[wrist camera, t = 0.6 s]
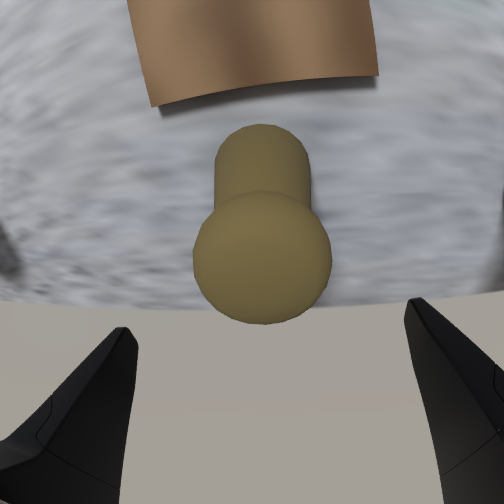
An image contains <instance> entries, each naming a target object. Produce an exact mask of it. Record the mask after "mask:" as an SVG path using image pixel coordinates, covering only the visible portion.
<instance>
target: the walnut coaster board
mask: <svg viewBox="0 0 504 504" xmlns="http://www.w3.org/2000/svg"><path fill="white" fill-rule="evenodd" d="M127 4H128V9H129V14H130V18H131V23H132V28H133V32H134V37H135V41H136V46H137V50H138V54H139V59H140V63H141V67H142V71H143V75H144V79H145V83H146V87H147V91H148V95H149V99H150V103H151V107H156V106H159V105H163V104H167V103H171V102H175V101H179V100H183V99H187V98H191V97H196V96H200V95H205V94H210V93H214V92H220V91H225V90H230V89H236V88H241V87H248V86H254V85H261V84H268V83H275V82H283V81H292V80H302V79H313V78H327V77H346V76H379V72H378V62H377V53H376V44H375V36H374V29H373V22H372V16H371V10H370V4H369V0H127Z"/></svg>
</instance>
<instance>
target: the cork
mask: <svg viewBox="0 0 504 504" xmlns="http://www.w3.org/2000/svg"><path fill="white" fill-rule="evenodd" d="M193 267H194V277H195V279H196V281H197V284H198V286H199V288H200V290H201V292H202V294H203V295H204V297H205V298H206V299H207V300H208V301H209V302H210V303H211V304H212V306H213V307H214V308H215V309H216V310H217V311H219V312H221V313H223V314H224V315H226V316H228V317H230V318H231V319H235V320H238V321H241V322H245V323H248V324H264V325H267V324H273V323H280V322H285V321H287V320H290V319H292V318H295V317H297V316H299V315H301V314H302V313H304V312H305V311H306V310H308V309H309V308H311V307H312V306H313V304H314V303H315V302H316V301H317V299H318V298H319V297H320V295H321V294H322V292H323V291H324V289H325V288H326V287H327V283H328V280H329V276H330V273H331V268H332V254H331V245H330V241H329V238H328V235H327V233H326V231H325V229H324V228H323V226H322V224H321V222H320V220H319V219H318V217H317V216H316V215H315V214H314V213H313V212H312V211H311V181H310V164H309V159H308V154H307V152H306V150H305V148H304V147H303V145H302V143H301V142H300V141H299V140H298V139H297V138H296V137H295V136H294V135H293V134H291V133H290V132H289V131H287V130H285V129H282V128H280V127H277V126H275V125H266V124H256V125H251V126H247V127H243V128H241V129H239V130H238V131H236V132H234V133H233V134H231V135H230V136H229V137H228V138H227V139H226V140H225V141H224V142H223V144H222V145H221V146H220V148H219V151H218V153H217V156H216V158H215V175H214V211H213V212H212V214H211V215H210V216H209V217H208V218H207V219H206V220H205V221H204V223H203V224H202V226H201V228H200V231H199V234H198V236H197V239H196V242H195V245H194V248H193Z"/></svg>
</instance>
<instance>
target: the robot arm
mask: <svg viewBox="0 0 504 504" xmlns="http://www.w3.org/2000/svg"><path fill="white" fill-rule="evenodd" d="M404 325H405V329H406V334H407V339H408V344H409V349H410V354H411V359H412V364H413V368H414V372H415V375H416V379H417V382H418V385H419V389H420V393H421V396H422V400H423V403H424V407H425V411H426V415H427V419H428V423H429V427H430V432H431V435H432V440H433V445H434V449H435V454H436V459H437V464H438V469H439V475H440V481H441V487H442V493H443V500H444V504H504V371H503V370H502V369H501V368H500V367H499V366H498V365H497V364H495V362H494V361H493V360H491V358H490V357H489V356H487V355H486V354H485V353H484V352H483V351H482V350H481V349H480V348H479V347H478V346H477V345H476V344H474V343H473V342H472V341H471V340H470V339H469V338H468V337H466V335H464V334H463V333H462V332H461V331H460V330H459V329H458V328H457V327H455V326H454V325H453V324H452V323H451V322H450V321H449V320H447V319H446V318H445V317H444V316H443V315H442V314H440V313H439V312H438V311H437V310H436V309H435V308H433V307H432V306H431V305H430V304H428V303H427V302H426V301H425V300H424V299H423V298H421V297H418V298H412V299H409V300H408V303H407V307H406V311H405V316H404ZM137 359H138V343H137V341H136V339H135V338H134V336H133V334H132V333H131V331H130V330H129V329H128V328H127V327H117V328H115V329H114V330H113V331H112V332H111V333H110V334H109V335H108V336H107V337H106V338H105V339H104V340H103V341H102V342H101V343H100V344H99V345H98V346H97V347H96V348H95V349H94V350H93V351H92V352H91V353H90V355H88V357H87V358H86V359H85V360H84V361H83V362H82V363H81V364H80V365H79V366H78V367H77V368H76V369H75V370H74V371H73V372H72V373H71V374H70V376H68V377H67V378H66V380H65V381H64V382H63V383H62V384H61V385H60V386H59V387H58V388H57V389H56V390H55V391H54V392H53V394H52V395H50V397H49V398H48V399H47V400H46V401H45V402H44V403H43V404H42V405H41V406H40V407H39V408H38V409H37V410H36V411H35V412H34V413H33V414H32V415H31V416H30V417H29V418H28V419H27V420H26V421H25V422H24V423H23V424H22V425H20V426H19V427H18V428H17V429H16V430H15V431H14V432H13V433H12V434H11V435H10V436H8V437H7V438H6V439H4V440H2V441H0V504H119V496H120V485H121V476H122V468H123V460H124V453H125V445H126V438H127V432H128V425H129V419H130V413H131V407H132V402H133V396H134V390H135V382H136V371H137Z"/></svg>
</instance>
